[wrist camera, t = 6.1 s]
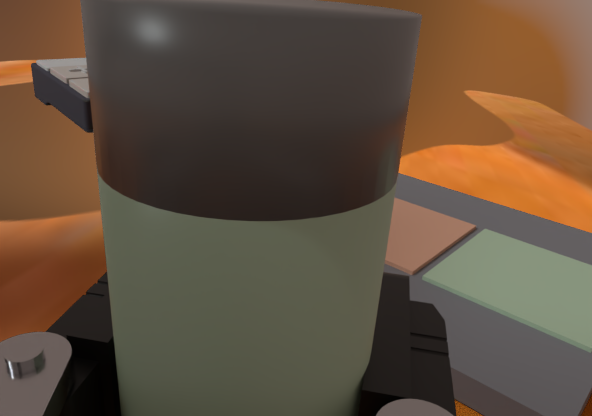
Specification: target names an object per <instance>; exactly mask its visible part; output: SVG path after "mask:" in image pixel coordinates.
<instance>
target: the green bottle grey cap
mask: <svg viewBox="0 0 592 416" xmlns="http://www.w3.org/2000/svg"><path fill="white" fill-rule="evenodd" d="M81 11H82V20H83V31H84V41H85V51H86V62H87V72H88V82H89V92H90V102H91V113H92V123H93V133H94V143H95V153H96V162H97V163H96V164H97V174H98V183H99V194H100V204H101V214H102V225H103V235H104V245H105V255H106V265H107V275H108V286H109V296H110V306H111V316H112V326H113V336H114V347H115V357H116V367H117V377H118V387H119V397H120V408H121V416H358V410H359V404H360V397H361V390H362V383H363V376H364V373H365V371H366V368H367V366H368V363H369V360H370V355H371V350H372V343H373V337H374V330H375V323H376V317H377V310H378V304H379V297H380V290H381V284H382V277H383V271H384V264H385V257H386V251H387V244H388V237H389V231H390V224H391V218H392V211H393V204H394V198H395V191H396V184H397V178H398V171H399V165H400V158H401V151H402V145H403V138H404V131H405V125H406V117H407V112H408V105H409V98H410V92H411V85H412V79H413V72H414V65H415V59H416V52H417V44H418V38H419V32H420V25H421V19H422V15H420V14H417V13H413V12H409V11H403V10H397V9H391V8H383V7H376V6H367V5H358V4H348V3H338V2H328V1H317V0H316V1H315V0H81Z"/></svg>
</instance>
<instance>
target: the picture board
mask: <svg viewBox="0 0 592 416" xmlns="http://www.w3.org/2000/svg"><path fill="white" fill-rule="evenodd" d="M383 272H387V273H393V274H400V275H407V276H409V280H410V300H412V301H418V302H425V303H431V304H433V305H434V306H435V308H436V309H437V310H438V312H439V313H440V314H441V316H442V317H443V318H444V320H445V325H446V333H447V342H448V350H449V358H450V367H451V375H452V383H453V392H454V399H456V400H457V401H459V402H461V403H463V404H465V405H466V406H468V407H470V408H472V409H474V410H475V411H477V412H479V413H481V414H482V415H484V416H581V414H582V412H583V410H584V408H585V406H586V404H587V402H588V400H589V398H590V396H591V394H592V233H589V232H586V231H583V230H580V229H576V228H573V227H570V226H567V225H564V224H560V223H557V222H554V221H551V220H548V219H544V218H541V217H538V216H535V215H531V214H528V213H525V212H522V211H519V210H515V209H512V208H509V207H506V206H503V205H499V204H496V203H493V202H490V201H486V200H483V199H480V198H477V197H474V196H470V195H467V194H464V193H461V192H458V191H454V190H451V189H448V188H445V187H442V186H438V185H435V184H432V183H429V182H425V181H422V180H419V179H416V178H413V177H409V176H406V175H403V174H400V173H398V178H397V184H396V191H395V198H394V204H393V211H392V218H391V224H390V231H389V237H388V244H387V251H386V257H385V264H384V271H383Z"/></svg>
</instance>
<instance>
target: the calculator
mask: <svg viewBox="0 0 592 416" xmlns="http://www.w3.org/2000/svg"><path fill="white" fill-rule="evenodd" d="M36 62H37V63H32V64H31V68H32V76H33V84H34V91H35V97H36V98H37V99H39V100H40V101H41V102H42V103H44V104H45V105H53V106H54V107H56V109H58V110H59V111H60V112H62V113H63V114H64V115H65V116H66V117H68V118H69V119H70V120H72V121H73V122H74V123H75V124H76V125H78V126H79V127H80V128H82V129H83V130H84V131H85V132H87V133H93V123H92V113H91V102H90V92H89V82H88V72H87V62H86V58H73V59H54V60H37V61H36Z"/></svg>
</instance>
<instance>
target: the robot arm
mask: <svg viewBox="0 0 592 416" xmlns="http://www.w3.org/2000/svg"><path fill="white" fill-rule="evenodd" d="M0 416H121V408H120V397H119V387H118V377H117V367H116V357H115V347H114V336H113V326H112V316H111V306H110V296H109V286H108V275H107V272H106V273H105V274H104V275H103V276H102V277H101V278H100V279H99V280H98V283H97V284H96V283H95V284H94V285H93V286H92V287H91V288H90V289H89V290H88V291H87V292H86V295H83V296H82V297H81V298H80V299H79V300H77V301H76V302H75V303H74V304H73V305H72V306H71V307H70V308H69V309H68V310H67V311H66V312H65V313H64V314H63V315H62V316H61V317H60V318H59V319H58V320H57V321H56V322H55V323H54V324H53V325H52V326H51V327H50V328H49V329H48V330H47V331H46V332H32V333H25V334H21V335H17V336H14V337H11V338H9V339H6V340H4V341H2V342H0ZM358 416H456V409H455V400H454V392H453V383H452V375H451V367H450V358H449V350H448V342H447V333H446V325H445V320H444V318H443V317H442V316H441V314H440V313H439V312H438V310H437V309H436V308H435V306H434V305H433V304H431V303H425V302H418V301H412V300H410V280H409V276H407V275H400V274H393V273H387V272H383V277H382V284H381V290H380V297H379V304H378V310H377V317H376V323H375V330H374V337H373V343H372V350H371V355H370V360H369V363H368V366H367V368H366V371H365V373H364V376H363V383H362V390H361V397H360V404H359V410H358Z"/></svg>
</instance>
